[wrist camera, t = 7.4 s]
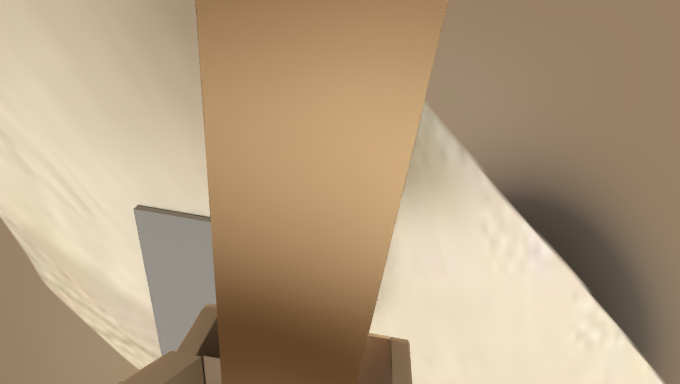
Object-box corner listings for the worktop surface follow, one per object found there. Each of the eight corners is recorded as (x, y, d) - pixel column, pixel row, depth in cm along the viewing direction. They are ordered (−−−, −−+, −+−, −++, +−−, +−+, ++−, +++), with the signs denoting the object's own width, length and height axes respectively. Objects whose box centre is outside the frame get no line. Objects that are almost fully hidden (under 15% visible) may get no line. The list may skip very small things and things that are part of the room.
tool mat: (137, 205, 30) (133, 209, 30) (262, 226, 30) (260, 230, 29) (165, 354, 40) (162, 359, 39) (260, 372, 39) (258, 377, 39)
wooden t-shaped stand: (122, -80, 7) (-254, -201, 3) (600, -17, 6) (954, -52, 2) (190, 394, 14) (115, 544, 10) (411, 438, 14) (421, 611, 10)
